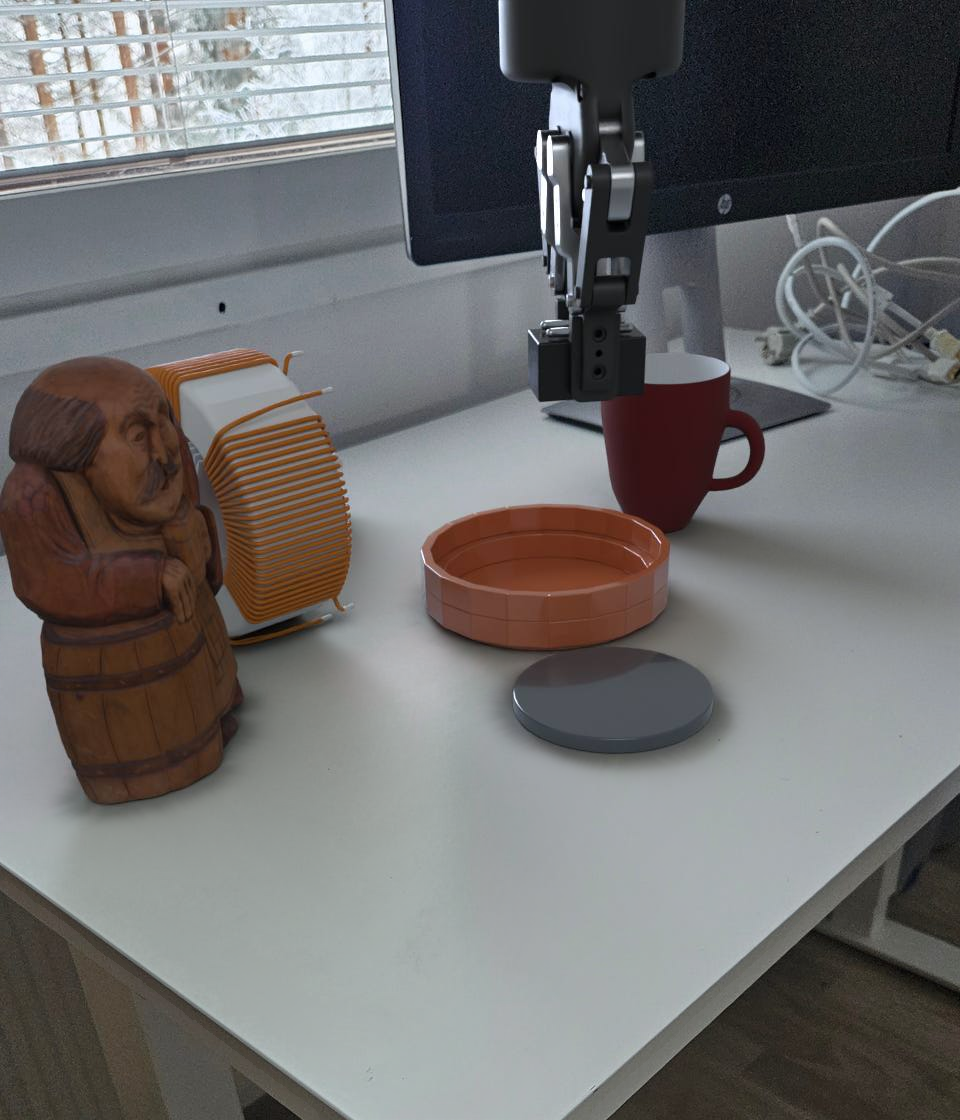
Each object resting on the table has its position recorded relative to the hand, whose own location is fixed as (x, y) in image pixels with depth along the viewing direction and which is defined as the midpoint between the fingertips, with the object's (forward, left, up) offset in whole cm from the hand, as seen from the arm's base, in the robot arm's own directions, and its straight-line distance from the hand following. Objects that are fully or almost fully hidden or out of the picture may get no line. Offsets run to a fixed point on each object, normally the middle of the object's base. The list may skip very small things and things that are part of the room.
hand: (585, 387), depth 58 cm
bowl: (0, -8, -14) cm, 16 cm away
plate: (-1, +5, -14) cm, 15 cm away
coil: (+18, -9, -14) cm, 24 cm away
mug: (-11, -19, -14) cm, 26 cm away
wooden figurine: (+22, +5, -14) cm, 26 cm away
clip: (0, 0, 0) cm, 0 cm away
